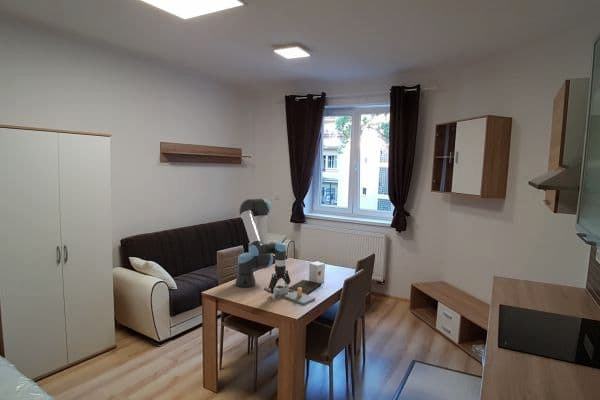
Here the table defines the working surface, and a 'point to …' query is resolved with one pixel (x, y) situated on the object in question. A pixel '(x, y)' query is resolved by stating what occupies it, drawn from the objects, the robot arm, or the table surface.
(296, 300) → the keeper
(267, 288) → the chain tail
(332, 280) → the table surface
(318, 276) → the supplement box
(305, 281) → the hardcover book
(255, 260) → the robot arm
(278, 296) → the square tube segment
